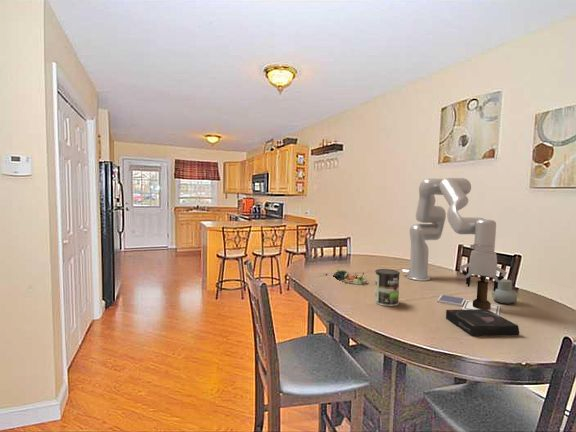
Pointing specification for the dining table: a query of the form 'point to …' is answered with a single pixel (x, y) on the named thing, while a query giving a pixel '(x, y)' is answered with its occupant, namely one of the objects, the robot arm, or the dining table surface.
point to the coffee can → (387, 287)
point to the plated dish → (350, 278)
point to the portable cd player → (482, 323)
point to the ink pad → (451, 300)
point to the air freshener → (504, 292)
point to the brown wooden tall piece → (482, 295)
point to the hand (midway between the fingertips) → (481, 288)
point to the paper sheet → (469, 305)
